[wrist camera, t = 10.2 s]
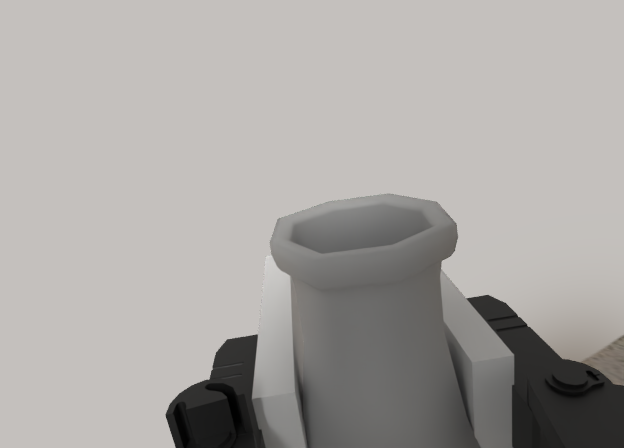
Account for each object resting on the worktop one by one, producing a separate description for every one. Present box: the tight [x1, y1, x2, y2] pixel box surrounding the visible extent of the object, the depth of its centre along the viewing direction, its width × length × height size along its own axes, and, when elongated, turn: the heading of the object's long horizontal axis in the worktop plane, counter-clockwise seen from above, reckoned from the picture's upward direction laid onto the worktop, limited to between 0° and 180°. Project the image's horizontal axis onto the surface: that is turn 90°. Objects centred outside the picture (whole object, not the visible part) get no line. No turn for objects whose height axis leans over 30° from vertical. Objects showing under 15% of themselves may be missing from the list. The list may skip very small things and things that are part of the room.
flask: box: [270, 194, 481, 448], centre depth 9 cm, size 7×7×10 cm
